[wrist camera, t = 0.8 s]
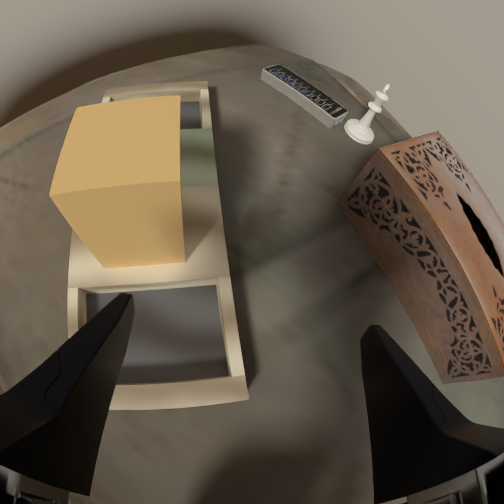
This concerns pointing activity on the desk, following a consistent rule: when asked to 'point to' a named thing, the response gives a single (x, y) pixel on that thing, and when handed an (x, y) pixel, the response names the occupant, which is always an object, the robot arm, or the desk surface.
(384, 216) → the tissue box cover
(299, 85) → the multiport hub
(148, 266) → the trap board
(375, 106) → the chess piece
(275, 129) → the desk surface
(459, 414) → the robot arm
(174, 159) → the ochre block
